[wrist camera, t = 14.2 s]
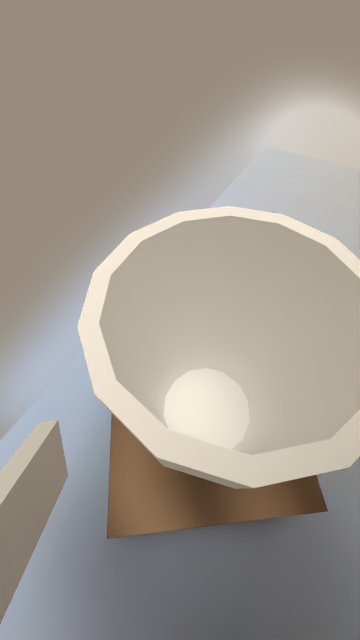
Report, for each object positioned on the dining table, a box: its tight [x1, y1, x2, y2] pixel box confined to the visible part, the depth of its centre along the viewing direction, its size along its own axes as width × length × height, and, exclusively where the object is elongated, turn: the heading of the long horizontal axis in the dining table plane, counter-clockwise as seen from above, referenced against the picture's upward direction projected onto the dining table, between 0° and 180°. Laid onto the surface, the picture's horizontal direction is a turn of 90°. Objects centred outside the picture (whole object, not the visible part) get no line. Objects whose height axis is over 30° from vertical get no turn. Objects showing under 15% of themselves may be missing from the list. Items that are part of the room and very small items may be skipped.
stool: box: [107, 414, 328, 539], centre depth 22 cm, size 13×13×8 cm
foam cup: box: [77, 206, 360, 489], centre depth 13 cm, size 10×9×13 cm
